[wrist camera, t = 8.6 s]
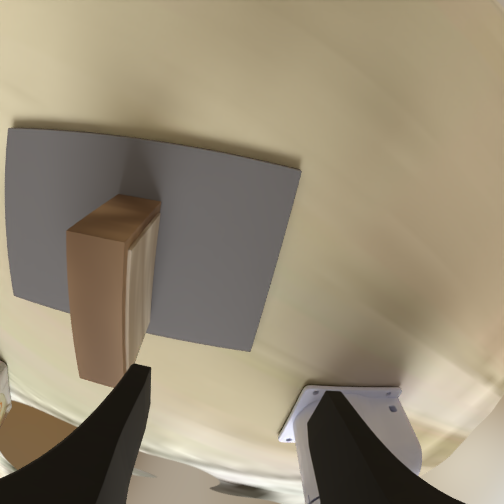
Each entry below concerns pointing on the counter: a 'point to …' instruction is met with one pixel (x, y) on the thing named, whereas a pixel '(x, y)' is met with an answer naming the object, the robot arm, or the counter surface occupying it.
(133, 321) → the slab
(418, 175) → the counter surface
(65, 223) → the mat
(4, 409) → the coffee box
